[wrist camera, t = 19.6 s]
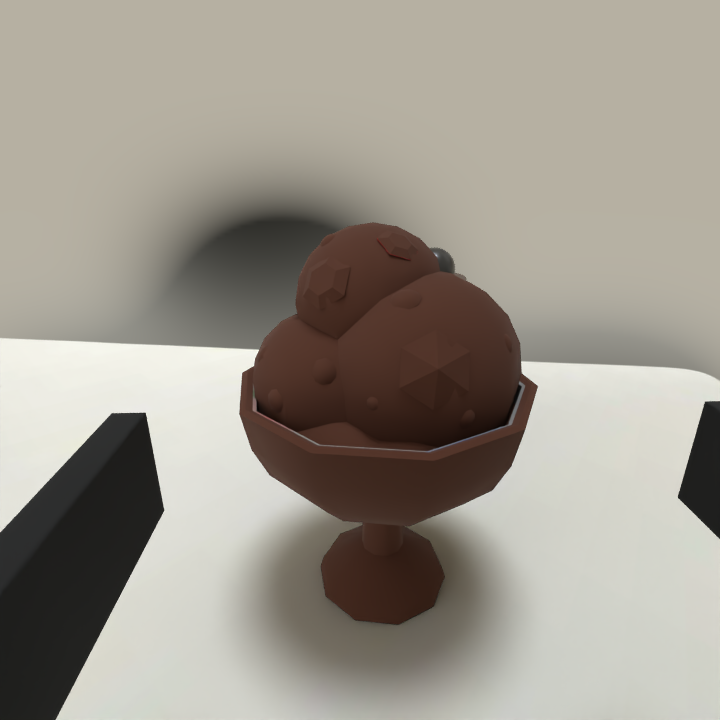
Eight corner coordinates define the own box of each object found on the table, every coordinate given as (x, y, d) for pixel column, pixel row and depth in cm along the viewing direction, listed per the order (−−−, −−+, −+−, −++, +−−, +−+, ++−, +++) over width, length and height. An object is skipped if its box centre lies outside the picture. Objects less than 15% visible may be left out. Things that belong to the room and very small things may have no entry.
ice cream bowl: (203, 627, 19) (138, 240, 14) (334, 475, 29) (327, 209, 23) (471, 752, 15) (533, 270, 10) (521, 527, 24) (567, 217, 19)
